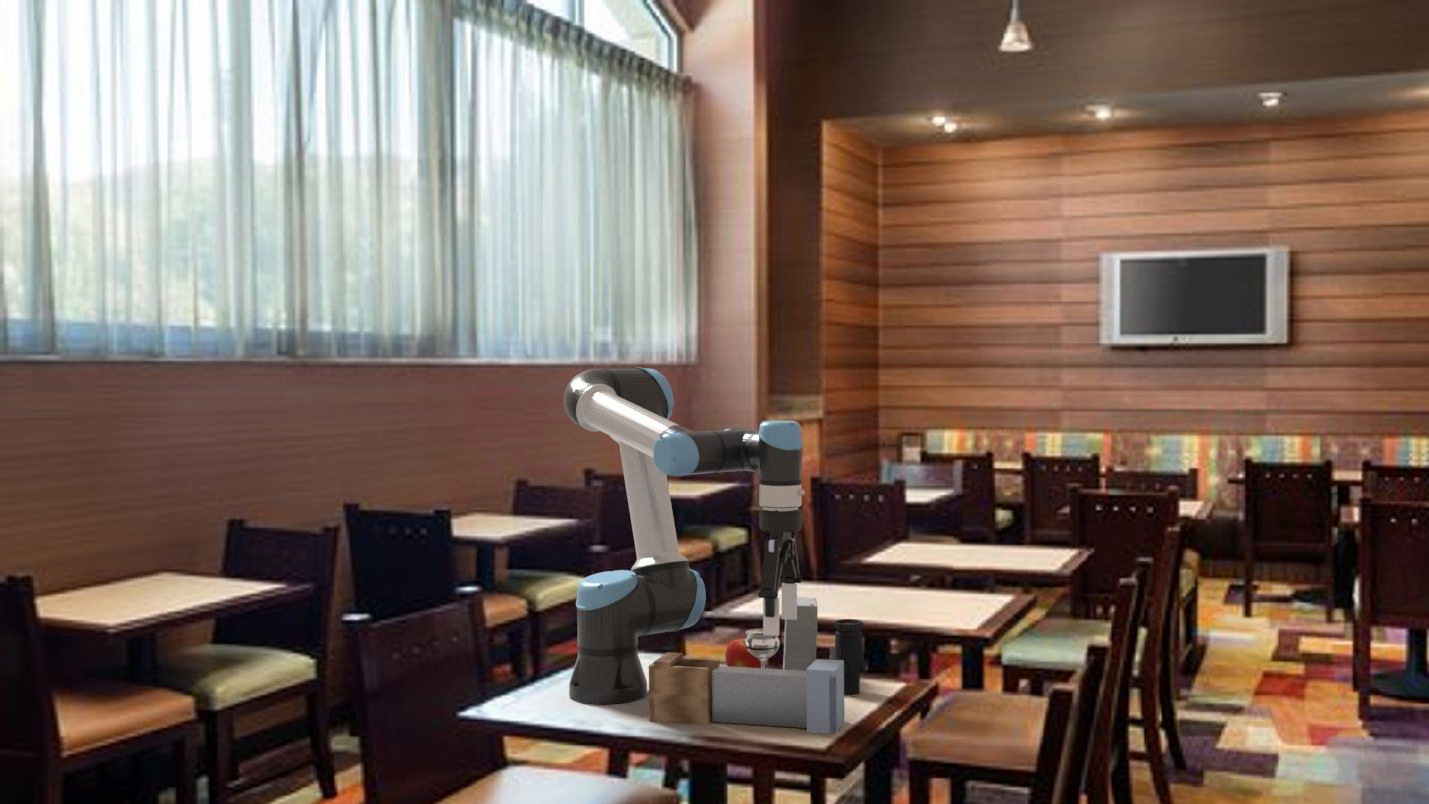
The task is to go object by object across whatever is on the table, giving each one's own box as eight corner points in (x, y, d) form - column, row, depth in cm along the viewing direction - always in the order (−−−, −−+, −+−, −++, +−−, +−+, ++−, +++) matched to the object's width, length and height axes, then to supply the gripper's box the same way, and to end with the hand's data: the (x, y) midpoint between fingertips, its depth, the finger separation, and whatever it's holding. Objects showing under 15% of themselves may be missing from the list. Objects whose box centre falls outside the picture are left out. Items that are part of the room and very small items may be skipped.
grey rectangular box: (712, 722, 236) (711, 671, 235) (719, 715, 240) (718, 665, 240) (827, 730, 230) (827, 678, 229) (833, 723, 234) (832, 672, 234)
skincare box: (782, 672, 274) (781, 596, 273) (817, 671, 273) (816, 595, 273) (783, 682, 265) (782, 603, 265) (819, 681, 265) (818, 603, 264)
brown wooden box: (649, 720, 237) (648, 661, 237) (663, 709, 245) (662, 652, 244) (707, 725, 234) (707, 664, 234) (720, 713, 242) (719, 655, 241)
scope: (828, 615, 262) (875, 619, 257) (829, 684, 263) (876, 690, 258) (811, 622, 255) (859, 627, 250) (812, 693, 255) (860, 699, 251)
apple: (750, 674, 272) (749, 626, 272) (773, 682, 265) (773, 632, 265) (717, 679, 267) (717, 630, 267) (740, 687, 261) (739, 637, 260)
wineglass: (786, 696, 254) (785, 633, 254) (753, 699, 252) (752, 636, 251) (772, 687, 260) (772, 627, 260) (740, 691, 258) (739, 630, 258)
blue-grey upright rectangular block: (806, 732, 229) (806, 669, 229) (816, 720, 237) (816, 659, 236) (835, 734, 228) (834, 670, 227) (844, 721, 235) (843, 660, 235)
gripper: (784, 517, 221) (784, 643, 222) (816, 500, 245) (815, 614, 246) (741, 516, 223) (741, 640, 224) (776, 499, 247) (776, 611, 248)
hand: (780, 627), depth 235 cm, fingers open, 13 cm apart
